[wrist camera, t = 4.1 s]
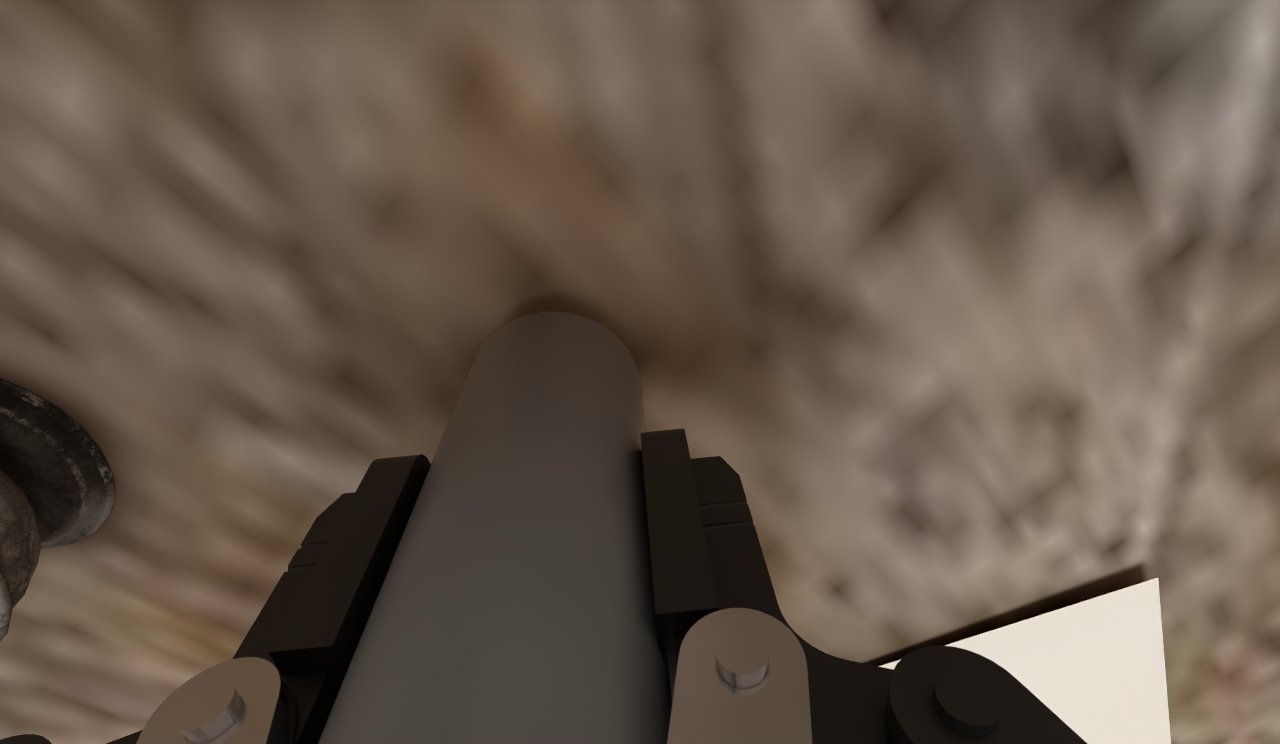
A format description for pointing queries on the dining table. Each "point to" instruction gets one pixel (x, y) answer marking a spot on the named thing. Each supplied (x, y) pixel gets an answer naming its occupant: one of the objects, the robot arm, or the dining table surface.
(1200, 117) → the dining table surface
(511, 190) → the dining table surface
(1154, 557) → the dining table surface
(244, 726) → the robot arm
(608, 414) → the marker
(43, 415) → the weathered grey finial
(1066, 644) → the paper sheet
